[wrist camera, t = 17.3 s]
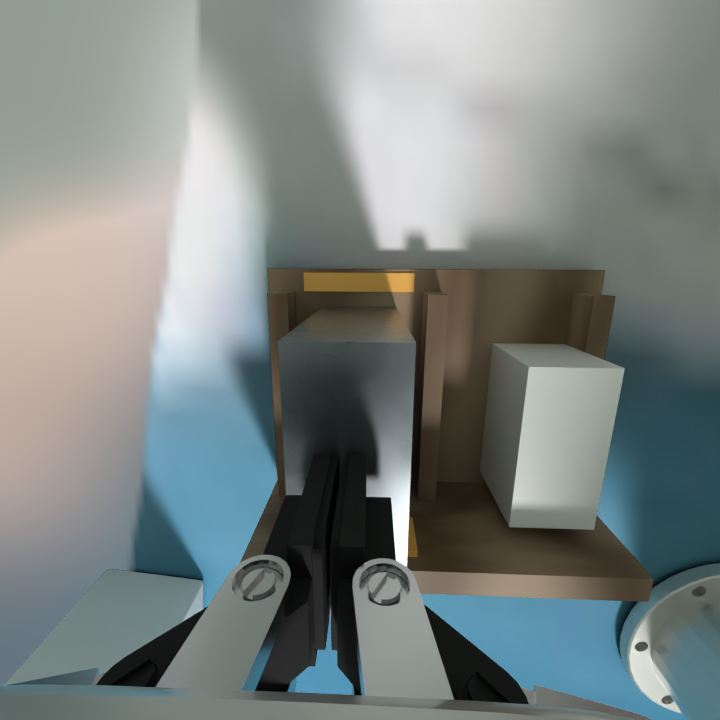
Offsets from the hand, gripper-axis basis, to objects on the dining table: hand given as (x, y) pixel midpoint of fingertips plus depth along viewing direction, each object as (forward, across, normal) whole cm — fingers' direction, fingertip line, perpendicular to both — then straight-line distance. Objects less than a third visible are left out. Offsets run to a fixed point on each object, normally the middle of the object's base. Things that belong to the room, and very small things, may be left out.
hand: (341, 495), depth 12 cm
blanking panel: (+10, 0, 0) cm, 10 cm away
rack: (+11, -4, 0) cm, 12 cm away
